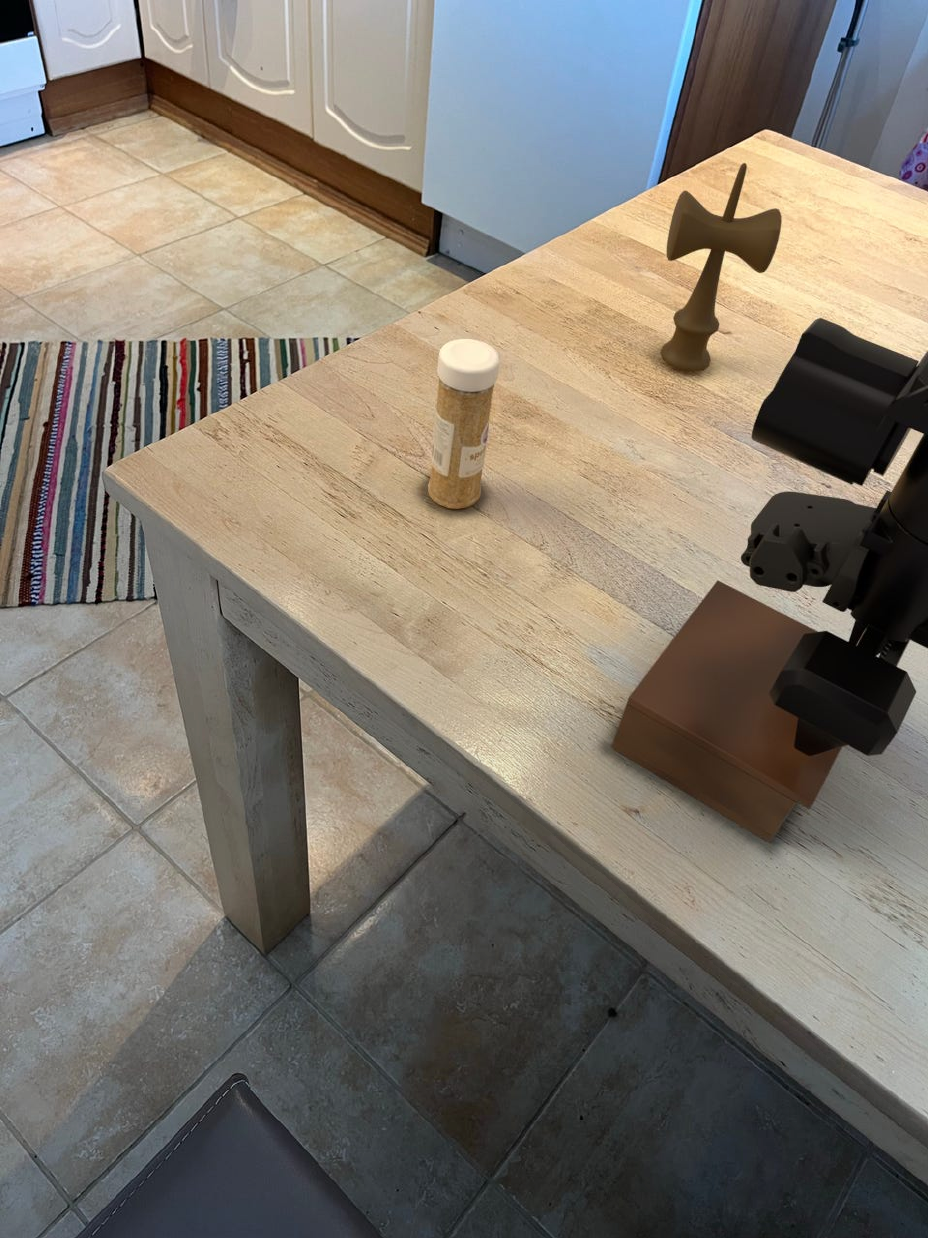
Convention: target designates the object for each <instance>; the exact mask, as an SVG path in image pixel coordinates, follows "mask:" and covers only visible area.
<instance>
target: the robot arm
mask: <svg viewBox="0 0 928 1238" xmlns="http://www.w3.org/2000/svg"><path fill="white" fill-rule="evenodd" d="M753 423H754V424H753V427H752V430H751V440H752V441H753V442H755V443H758V444H760V445H762V446H765V447H767V448H769V449H771V450H774V451H776V452H778V453H779V454H782V455H785V456H787V457H789V458H790V459H794V460H795V461H798V462H800V463H802V464H805V465H807V466H808V467H811V468H813V469H815V470H818V471H820V472H823V473H824V474H827V475H829V476H831V477H833V478H835V479H838V480H839V481H842V482H844V483H847V484H848V485H851V486H853V485H854V484H855V485H859V486H861V487H863V486H864V484H865V483H866V480H867V479H868V477H869V475H870V473H871V471H872V470H873V471H872V472H873V473H874V474H878V475H879V476H882V477H884V476H885V474H886V473H887V471H888V469H890V467H891V465H892V463H893V461H894V460H895V457H896V456H897V455H898V453H899V451H900V450H901V448H902V446H903V444H904V442H905V441H906V439H907V437H908V435H909V434H910V432H911V430H913V431H915V432H918V433H920V434H922V436H921V438H920V440H919V442H918V444H917V445H916V447H915V449H914V451H913V452H912V454H911V456H910V458H909V459H908V461H907V463H906V465H905V467H904V468H903V470H902V472H901V474H900V475H899V477H898V479H897V480H896V483H895V484H894V486H893V488H892V489H891V490H886V491H885V493H883V495H882V497H881V499H880V501H879V503H878V504H877V506H876V507H872V506H869V505H866V504H865V505H864V504H860V503H855V502H854V501H852V500H850V499H846V498H841V497H833V496H826V495H819V494H814V493H813V494H812V493H806V492H798V491H781V492H777V493H775V494H773V495H772V496H771V497H770V498H769V500H768V501H767V502H766V504H765V505H764V506H763V507H762V509H761V510H760V511H759V512H758V514H757V515H756V517H755V518H754V520H753V521H752V522H751V524H750V534H749V536H748V537H747V546H746V548H745V550H744V551H743V552H742V554H741V556H740V561H741V563H742V564H743V565H744V566H746V567H748V568H749V577H750V579H751V580H752V581H753V582H754V583H755V584H756V585H757V586H761V587H765V588H770V589H776V590H780V591H785V592H790V593H795V592H798V591H799V590H801V589H802V588H803V587H804V586H808V587H812V588H813V587H814V588H826V587H829V588H828V590H827V591H826V594H825V595H824V598H823V599H822V600H821V602H822V603H823V604H824V605H827V606H829V607H831V608H833V609H835V610H837V611H839V612H841V613H844V612H846V611H847V610H850V617H852V618H853V619H854V623H853V626H852V629H851V632H850V636H849V638H848V640H845V639H844V638H842V637H840V636H837V635H836V634H834V633H832V632H831V631H828V630H822V631H818V632H813V633H806V634H804V635H803V636H802V638H801V640H800V641H799V643H798V644H797V646H796V648H795V649H794V651H793V652H792V654H791V656H790V657H789V659H788V661H787V662H786V664H785V665H784V667H783V669H782V670H781V672H780V674H779V676H778V677H777V679H776V681H775V683H774V685H773V687H772V688H771V690H770V692H769V694H770V696H771V698H772V700H773V702H774V704H775V705H776V706H777V707H779V708H781V709H783V710H785V711H787V712H788V713H790V714H792V715H794V716H796V717H798V722H797V728H796V735H795V741H794V748H795V749H797V750H798V751H800V752H802V753H804V754H806V755H807V756H813V755H817V754H820V753H823V752H827V751H830V750H833V749H836V748H840V747H842V748H843V747H846V746H849V747H851V748H852V749H854V750H856V751H857V752H860V753H861V754H863V755H865V756H867V757H870V756H871V757H872V756H881V755H883V753H884V752H885V750H887V748H888V747H889V745H890V744H891V742H892V741H893V739H895V737H896V736H897V735H898V732H899V730H900V728H901V726H902V724H903V722H904V719H905V718H906V715H907V714H908V711H909V709H910V708H911V705H912V703H913V701H914V698H915V696H916V694H917V689H916V687H915V685H914V684H913V681H912V679H911V677H910V675H909V672H908V671H906V670H904V669H903V668H901V667H899V666H898V665H899V663H900V661H901V659H902V657H903V655H904V653H905V651H906V649H907V647H908V645H909V643H910V642H914V643H916V644H918V645H920V647H921V646H922V647H923V648H926V649H928V350H926V352H925V354H924V355H923V356H922V358H921V359H920V361H919V360H917V359H915V358H912V357H910V356H908V355H905V354H903V353H901V352H900V353H899V352H897V351H895V350H893V349H891V348H888V347H885V346H882V345H880V344H877V343H876V342H875V343H874V342H872V341H869V340H868V339H865V338H862V337H859V336H857V335H856V334H854V333H852V332H851V331H849V330H848V329H847V328H845V327H844V326H842V325H839V324H837V323H835V322H833V321H830V320H829V319H825V318H822V317H819V318H816V319H814V320H813V322H812V323H811V324H810V325H809V326H808V327H807V328H806V329H805V330H804V331H803V332H802V334H801V336H800V338H799V340H798V343H797V346H796V348H795V350H794V352H793V354H792V355H791V357H790V359H789V360H788V362H787V363H786V365H785V367H784V368H783V370H782V373H781V374H780V375H779V377H778V380H777V381H776V383H775V385H774V387H773V389H772V390H771V391H770V392H769V394H768V395H767V396H766V397H765V398H764V399H763V401H762V403H761V404H760V407H759V410H758V412H757V414H756V418H755V421H754V422H753Z"/></svg>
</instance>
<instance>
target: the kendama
mask: <svg viewBox="0 0 928 1238" xmlns="http://www.w3.org/2000/svg"><path fill="white" fill-rule="evenodd" d="M747 169H748V165H747V163H746V162H743V163H741V165H740V166H739V169H738V171H737V174H736V177H735V179H734V182H733V185H732V188H731V191H730V194H729V197H728V200H727V203H726V206H725V209H724V212H723V214H722V215H717V214H714V213H712V212H710V211H709V210H708V209H706V208H705V206H703V205H702V204H701V203H700V202H699V200H697V199H696V197H695V196H694V195H692V194H691V192H689V191H688V190H683V191H682V192H681V193H680V194H679V196H678V199H677V201H676V204H675V206H674V208H673V213H672V216H671V221H670V225H669V230H668V235H667V240H666V259H667V261H670V262H673V261H676V260H679V259H681V258H683V257H685V256H687V255H690V254H692V253H694V252H697V251H700V250H710V251H709V253H708V256H707V259H706V261H705V264H704V266H703V269H702V271H701V273H700V275H699V278H698V280H697V282H696V284H695V287H694V289H693V291H692V293H691V295H690V297H689V298H688V300H687V302H686V304H685V306H683V307H682V308H680V309H678V310H677V311H676V312H675V313H674V315H673V318H672V319H673V323H674V326H675V330H674V332H673V335H672V337H671V338H670V340H669V341H667V342H666V343H663V345H662V346H661V349H660V356H661V359H662V361H663V362H664V363H665V364H666V365H667V366H668V367H670V368H672V369H674V370H677V371H680V372H684V373H698V372H703V371H705V370H706V369H708V368H709V367H710V364H711V361H712V358H711V355H710V353H709V350H707V349H708V347H707V346H708V343H709V340H710V338H711V336H713V335H714V334H715V333H717V332H719V329H720V322H719V319H718V318H717V317H716V312H715V311H716V303H717V302H716V301H717V294H718V288H719V282H720V278H721V272H722V267H723V262H724V259H725V253H729V254H732V255H735V256H736V257H738V258H739V259H740V260H742V261H743V262H744V263H745V264H746V265H748V267H750V268H751V269H752V270H753V271H755V272H756V273H757V274H764V273H765V272H766V271H767V270H768V269H769V267H770V266H771V263H772V261H773V258H774V256H775V253H776V251H777V247H778V244H779V241H780V235H781V231H782V219H783V217H782V213H781V210H780V209H779V208H778V207H777V208H776V207H775V208H770V209H767V210H764V211H762V212H759V213H757V214H753V215H750V216H746V217H735V215H736V212H737V207H738V203H739V200H740V197H741V193H742V190H743V186H744V181H745V178H746V174H747Z"/></svg>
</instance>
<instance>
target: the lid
mask: <svg viewBox="0 0 928 1238" xmlns="http://www.w3.org/2000/svg"><path fill="white" fill-rule="evenodd" d="M813 632H819V631H818V630H816V629H813V628H812V627H810V626H808V625H806V624H804V623H802V622H800V621H799V620H796V619H794V618H792V617H790V616H789V615H787V614H785V613H782V612H780V611H779V610H777V609H775V608H773V607H771V606H769V605H767V604H766V603H763V602H761V601H759V600H757V599H756V598H753V597H752V596H750V595H748V594H746V593H744V592H742V591H740V590H737V589H736V588H734V587H732V586H730V585H728V584H726V583H725V582H722V581H720V580H716V581H715V582H714V584H713V585H712V586H711V588H710V589H709V591H708V592H707V593H706V595H705V596H704V597H703V599H702V600H701V601H700V602H699V604H698V605H697V607H696V608H694V610H693V611H692V613H691V615H690V616H689V617H688V618H687V620H686V621H685V622H684V624H683V625H682V626H681V627H680V629H679V630H678V632H677V633H676V634H675V636H674V637H673V639H672V640H671V641H670V642H669V644H668V645H667V646H666V647H665V649H664V650H663V651H662V653H661V654H660V655H659V657H658V658H657V659H656V661H655V662H654V664H653V665H651V667H650V668H649V670H648V671H647V673H646V674H645V675H644V677H643V678H642V679H641V681H640V682H639V683H638V685H637V686H636V687H635V688H634V689H633V691H632V692H631V694H630V695H629V696H628V699H627V702H626V704H629V705H630V706H632V707H634V708H635V709H637V710H639V711H641V712H642V713H644V714H646V715H647V716H649V717H651V718H653V719H654V720H656V721H658V722H660V723H661V724H663V725H665V726H666V727H668V728H670V729H672V730H673V731H675V732H677V733H678V734H680V735H682V736H684V737H685V738H687V739H689V740H691V741H692V742H694V743H696V744H697V745H699V746H701V747H703V748H704V749H706V750H708V751H709V752H711V753H713V754H715V755H716V756H718V757H720V758H722V759H723V760H725V761H727V762H728V763H730V764H732V765H734V766H735V767H737V768H739V769H740V770H742V771H744V772H746V773H747V774H749V775H751V776H753V777H754V778H756V779H758V780H759V781H761V782H763V783H765V784H766V785H768V786H770V787H772V788H773V789H775V790H777V791H778V792H780V793H782V794H784V795H785V796H787V797H789V798H790V799H792V800H794V801H796V804H797V803H798V804H799V805H801V806H803V807H804V808H805V809H808V810H810V809H811V808H812V806H813V805H814V804H815V801H816V800H817V798H818V796H819V794H820V792H821V790H822V788H823V786H824V784H825V782H826V780H827V778H828V776H829V774H830V772H831V771H832V768H833V766H834V764H835V763H836V761H837V758H838V757H839V755H840V753H841V751H842V749H843V747H840V748H836V749H833V750H830V751H827V752H823V753H820V754H817V755H813V756H807V755H806V754H804V753H802V752H800V751H798V750H797V749H795V748H794V741H795V735H796V728H797V722H798V717H796V716H794V715H792V714H790V713H788V712H787V711H785V710H783V709H781V708H779V707H777V706H776V705H775V704H774V702H773V700H772V698H771V696H770V694H769V692H770V690H771V688H772V687H773V685H774V683H775V681H776V679H777V677H778V676H779V674H780V672H781V670H782V669H783V667H784V665H785V664H786V662H787V661H788V659H789V657H790V656H791V654H792V652H793V651H794V649H795V648H796V646H797V644H798V643H799V641H800V640H801V638H802V636H803V635H804V634H806V633H813Z"/></svg>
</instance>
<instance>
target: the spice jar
mask: <svg viewBox="0 0 928 1238" xmlns="http://www.w3.org/2000/svg"><path fill="white" fill-rule="evenodd" d="M438 353H439V354H438V358H437V370H436V374H437V378H438V383H437V385H438V386H437V395H436V396H437V397H436V404H435V409H434V420H433V430H432V431H433V432H432V445H431V456H430V462H431V468H430V477H429V481H428V485H427V492H428V495H429V497H430V498H431V499H432V500H433V501H434V502H435V503H436V504H438V505H440V506H441V507H445V508H448V509H455V510H457V509H458V510H459V509H465V508H469V507H471V506H473V505H475V503H477V501H478V500H479V499H480V497H481V494H482V487H481V484H482V475H483V469H484V465H485V460H486V459H485V458H486V451H487V444H488V443H487V442H488V436H489V429H490V428H489V427H490V422H491V421H490V420H491V417H490V416H491V409H492V402H493V393H494V387H495V385H496V383H497V380H498V377H499V371H500V363H501V362H500V355H499V353H498V351H497V350H496V349H495V348H494V347H493V346H492V345H490V344H488V343H486V342H483V341H481V340H476V339H471V338H459V339H454V340H451V341H449V342H446V343H445V344H444V345H443V346H442V347H441V348H440V350H439V352H438Z"/></svg>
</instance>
